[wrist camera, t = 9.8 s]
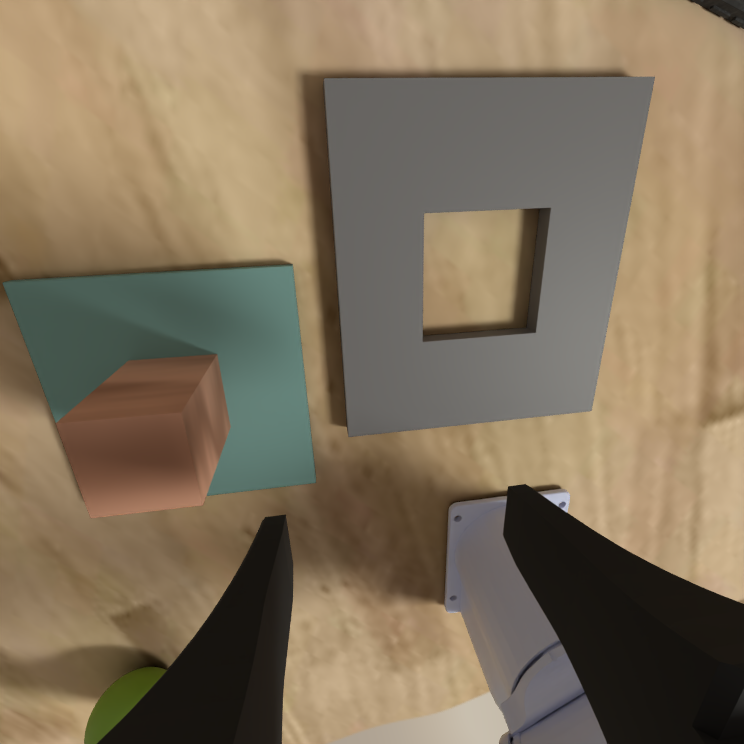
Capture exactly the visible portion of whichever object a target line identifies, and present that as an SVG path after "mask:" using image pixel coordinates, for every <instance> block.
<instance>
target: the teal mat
mask: <svg viewBox="0 0 744 744" xmlns="http://www.w3.org/2000/svg"><path fill="white" fill-rule="evenodd" d="M3 285H4V288H5V291H6V293H7V296H8V299H9V301H10V304H11V306H12V309H13V312H14V314H15V317H16V320H17V322H18V325H19V327H20V330H21V333H22V335H23V338H24V341H25V343H26V346H27V348H28V351H29V354H30V356H31V359H32V362H33V364H34V367H35V369H36V372H37V375H38V377H39V380H40V383H41V385H42V388H43V390H44V393H45V396H46V398H47V401H48V404H49V406H50V409H51V411H52V414H53V417H54V419H55V422H56V423H57V422H58V421H59V420H60V419H61V418H62V417H64V416H65V415H66V414H67V413H68V412H69V411H71V410H72V409H73V408H74V407H75V406H76V405H78V404H79V403H80V402H81V401H82V400H83V399H84V398H86V397H87V396H88V395H89V394H90V393H91V392H93V391H94V390H95V389H96V388H97V387H98V386H100V385H101V384H102V383H103V382H104V381H105V380H107V379H108V378H109V377H110V376H111V375H112V374H113V373H115V372H116V371H117V370H118V369H119V368H120V367H122V366H123V365H124V364H125V363H126V362H127V361H129V360H143V359H157V358H170V357H184V356H198V355H211V354H217V356H218V361H219V367H220V372H221V377H222V383H223V388H224V394H225V399H226V404H227V410H228V415H229V421H230V426H231V427H230V430H229V433H228V436H227V439H226V442H225V444H224V447H223V450H222V453H221V456H220V459H219V461H218V464H217V467H216V470H215V473H214V476H213V478H212V481H211V484H210V487H209V490H208V493H207V495H206V496H210V495H218V494H227V493H235V492H243V491H252V490H260V489H269V488H277V487H285V486H294V485H302V484H311V483H316V474H315V465H314V456H313V447H312V437H311V428H310V419H309V410H308V401H307V392H306V382H305V373H304V364H303V355H302V346H301V337H300V327H299V318H298V309H297V300H296V291H295V282H294V272H293V264H288V265H271V266H253V267H236V268H218V269H200V270H183V271H165V272H148V273H130V274H113V275H95V276H77V277H60V278H42V279H25V280H11V281H7V282H3Z"/></svg>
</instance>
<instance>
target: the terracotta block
mask: <svg viewBox="0 0 744 744" xmlns="http://www.w3.org/2000/svg"><path fill="white" fill-rule="evenodd" d="M55 424H56V426H57V429H58V432H59V435H60V437H61V440H62V443H63V445H64V448H65V451H66V453H67V456H68V459H69V461H70V464H71V467H72V470H73V472H74V475H75V478H76V480H77V483H78V486H79V488H80V491H81V494H82V496H83V499H84V502H85V505H86V507H87V510H88V513H89V515H90V518H97V517H106V516H115V515H123V514H132V513H141V512H149V511H158V510H167V509H175V508H184V507H193V506H202V505H203V504H204V501H205V498H206V495H207V493H208V490H209V487H210V484H211V481H212V478H213V476H214V473H215V470H216V467H217V464H218V461H219V459H220V456H221V453H222V450H223V447H224V444H225V442H226V439H227V436H228V433H229V430H230V427H231V426H230V421H229V415H228V410H227V404H226V399H225V394H224V388H223V383H222V377H221V372H220V367H219V361H218V356H217V354H211V355H198V356H184V357H170V358H157V359H143V360H129V361H127V362H126V363H125V364H124V365H123V366H122V367H120V368H119V369H118V370H117V371H116V372H115V373H113V374H112V375H111V376H110V377H109V378H108V379H107V380H105V381H104V382H103V383H102V384H101V385H100V386H98V387H97V388H96V389H95V390H94V391H93V392H91V393H90V394H89V395H88V396H87V397H86V398H84V399H83V400H82V401H81V402H80V403H79V404H78V405H76V406H75V407H74V408H73V409H72V410H71V411H69V412H68V413H67V414H66V415H65V416H64V417H62V418H61V419H60V420H59V421H58V422H57V423H55Z"/></svg>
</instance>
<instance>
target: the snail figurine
mask: <svg viewBox="0 0 744 744" xmlns="http://www.w3.org/2000/svg"><path fill="white" fill-rule="evenodd" d="M166 671H167V670H165V669H162V668H159V667H144V668H140V669H136V670H134V671H131V672H129V673H127V674H126V675H124V676H122V677H121V678H119V679H118V680H117V681H115V682H114V683H113V684H112V685H111V686H110V687H109V688H108V689H107V690H106V691H105V692H104V694H103V695H102V696H101V697H100V699H99V700H98V702H97V703H96V705H95V707H94V709H93V711H92V713H91V715H90V718H89V720H88V723H87V727H86V731H85V739H84V744H97V743H98V742H99V741H100V740H101V739H102V738H103V737H104V736H105V735H106V734H107V733H108V732H109V731H110V730H111V729H112V728H113V727H114V726H115V725H116V724H117V723H118V722H119V721H120V720H121V719H122V718H123V717H124V716H125V715H126V714H127V713H128V712H129V711H130V710H131V709H132V708H133V707H134V706H135V705H136V704H137V703H138V702H139V701H140V699H141V698H142V697H143V696H144V695H145V694H146V693H147V692H148V691H149V690H150V689H151V687H152V686H153V685H154V684H155V683H156V682H157V681H158V680H159V679H160V678H161V676H162V675H163V674H164V673H165V672H166Z"/></svg>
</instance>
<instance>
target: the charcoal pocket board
mask: <svg viewBox="0 0 744 744" xmlns="http://www.w3.org/2000/svg"><path fill="white" fill-rule="evenodd" d="M654 79H655V77H493V78H324V82H323V90H324V105H325V119H326V133H327V148H328V162H329V176H330V191H331V205H332V219H333V234H334V248H335V262H336V277H337V291H338V306H339V320H340V334H341V349H342V363H343V377H344V392H345V406H346V420H347V431H348V436H349V437H354V436H363V435H373V434H382V433H391V432H401V431H410V430H419V429H429V428H438V427H447V426H457V425H466V424H475V423H485V422H494V421H503V420H513V419H522V418H531V417H541V416H550V415H559V414H569V413H578V412H587V411H592V406H593V400H594V395H595V390H596V384H597V379H598V374H599V369H600V363H601V358H602V353H603V348H604V342H605V337H606V332H607V327H608V321H609V316H610V311H611V306H612V300H613V295H614V290H615V284H616V279H617V274H618V269H619V263H620V258H621V253H622V248H623V242H624V237H625V232H626V227H627V221H628V216H629V211H630V206H631V200H632V195H633V190H634V184H635V179H636V174H637V169H638V163H639V158H640V153H641V148H642V142H643V137H644V132H645V127H646V121H647V116H648V111H649V106H650V100H651V95H652V90H653V84H654ZM531 208H540V211H539V220H538V228H537V237H536V246H535V255H534V264H533V273H532V282H531V291H530V300H529V309H528V318H527V327H526V328H514V329H502V330H489V331H477V332H464V333H452V334H439V335H427V336H423V251H424V213H440V212H463V211H485V210H508V209H531Z"/></svg>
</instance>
